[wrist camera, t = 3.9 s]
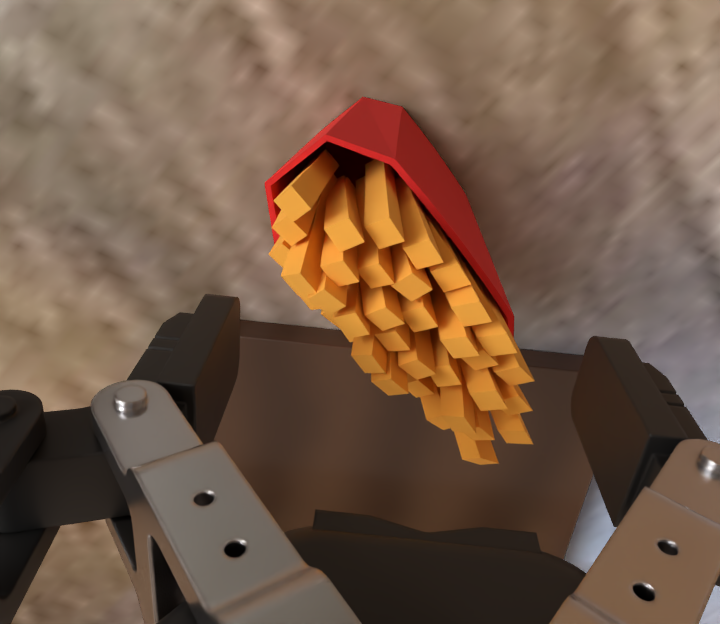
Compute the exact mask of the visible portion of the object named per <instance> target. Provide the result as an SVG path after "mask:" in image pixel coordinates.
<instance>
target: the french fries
mask: <svg viewBox="0 0 720 624" xmlns="http://www.w3.org/2000/svg"><path fill="white" fill-rule="evenodd" d="M265 189H266V195H267V201H268V207H269V213H270V220H271V226H272V232H273V238H274V244H275V245H274V246H273V248H272V250H271V251H270V253H269V255H270V256H271V257H272V258H273V259H274V260H275V261H276V262H277V263H278V264H279V265H281V266H282V267H283V271H282V274H281V277H282V278H283V279H284V280H285V281H286V283H287V284H288V285H289V286H290V287H291V288H292V289H293V290H294V292H295V293H296V294H297V295H299V296H300V297H301V298H302V300H303V301H304V302H305V303H306V304H307V306H308V307H309V308H310V309H311V310H314V309H321V315H323V316H324V317H325V318H327V319H328V320H329V321H330V322H332V323H333V324H334V325H336V326H337V327H338V328H340V329H341V331H342V332H343V333H344V335H345V336H346V338H347V339H348V340H349V342H353V345H352V352H351V356H352V357H353V359H354V360H355V361H356V362H357V364H358V365H359V366H360V368H361V369H362V370H363V371H364V373H371V382H372V383H374V384H375V385H376V386H377V387H379V388H380V389H381V390H382V391H383V392H385V393H386V394H387V395H388V396H390V395H401V394H409V392H410V393H411V394H412V395H413V396H415V397H416V398H417V397H420V398H421V402H422V405H423V409H424V413H425V416H426V420H427V421H429V422H431V423H432V424H434V425H436V426H437V427H439V428H440V429H442V430H445V429H449V428H451V430H452V431H454V433H455V437H456V440H457V443H458V447H459V450H460V454H461V457H462V460H466V461H469V462H472V463H476V464H479V465H484V464H498V463H499V462H498V460H497V457H496V454H495V451H494V448H493V446H492V443H491V440H495V439H494V434H493V430H492V425H491V421H490V417H489V412H488V411H489V410H490V412H491V414H492V417H493V419H494V422H495V425H496V427H497V430H498V431H499V433H500V434H501V436H502V437H503V439H504V440H505V442H506V443H514V444H533V442H532V440H531V438H530V435H529V433H528V431H527V429H526V426H525V424H524V422H523V420H522V418H521V415H520V413H524V412H529V411H533V410H532V408H531V407H530V405H529V403H528V401H527V400H526V398H525V396H524V394H523V393H522V391H521V389H520V387H519V386H518V384H523V383H528V382H533V381H535V380H534V378H533V376H532V374H531V372H530V370H529V368H528V366H527V364H526V362H525V360H524V358H523V356H522V354H521V352H520V350H519V348H518V346H517V344H516V342H515V340H514V315H513V312H512V310H511V307H510V305H509V302H508V300H507V297H506V295H505V292H504V290H503V287H502V285H501V282H500V280H499V277H498V275H497V272H496V270H495V267H494V264H493V262H492V259H491V257H490V254H489V252H488V249H487V247H486V244H485V242H484V239H483V237H482V234H481V232H480V229H479V227H478V224H477V222H476V219H475V217H474V214H473V212H472V209H471V206H470V204H469V201H468V199H467V196H466V194H465V192H464V191H463V189H462V188H461V186H460V185H459V183H458V182H457V180H456V179H455V177H454V175H453V174H452V172H451V171H450V170H449V168H448V167H447V165H446V164H445V162H444V161H443V160H442V158H441V157H440V155H439V154H438V152H437V151H436V150H435V148H434V147H433V146H432V144H431V143H430V142H429V140H428V139H427V138H426V136H425V135H424V134H423V132H422V131H421V130H420V128H419V127H418V126H417V125H416V123H415V122H414V121H413V120H412V118H411V117H410V116H409V115H408V113H407V112H406V111H405V110H404V108H403V107H402V106H398V105H394V104H390V103H386V102H382V101H378V100H374V99H370V98H366V97H362V98H361V99H360V100H358V101H357V102H356V103H355V104H353V105H352V106H351V107H350V108H348V109H347V110H346V111H345V112H343V113H342V114H341V115H340V116H338V117H337V118H336V119H335V120H333V121H332V122H331V123H330V124H328V125H327V126H326V127H325V128H324V129H322V130H321V131H320V132H319V133H318V134H317V135H316V136H315V137H314V138H313V139H311V140H310V141H309V142H308V143H307V144H306V145H305V146H304V147H303V148H302V149H301V150H300V151H299V152H297V153H296V154H295V155H294V156H293V157H292V158H291V159H290V160H289V161H288V162H287V163H286V164H285V165H283V166H282V167H281V168H280V169H279V170H278V171H277V172H276V173H275V174H274V175H273V176H272V177H271V178H269V179H268V180H267V181H266V182H265ZM408 391H409V392H408Z"/></svg>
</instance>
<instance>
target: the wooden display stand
mask: <svg viewBox="0 0 720 624" xmlns="http://www.w3.org/2000/svg"><path fill="white" fill-rule="evenodd" d="M352 345H353V342H349V340H348V339H347V338H346V336H345V335H344V333H343V332H342V331H341V330H332V329H322V328H312V327H303V326H293V325H284V324H274V323H264V322H255V321H245V320H240V359H239V369H238V375H237V379H236V382H235V385H234V388H233V391H232V393H231V396H230V398H229V401H228V404H227V406H226V409H225V412H224V414H223V417H222V419H221V422H220V425H219V427H218V430H217V433H216V435H215V438H214V440H216V441H218V442H219V443H220V444H221V445H222V446H223V447H224V449H225V450H226V452H227V453H228V454H229V456H230V457H231V459H232V460H233V462H234V463H235V464H236V466H237V467H238V469H239V470H240V471H241V473H242V474H243V476H244V477H245V479H246V480H247V481H248V483H249V484H250V486H251V487H252V488H253V490H254V491H255V493H256V494H257V495H258V497H259V498H260V500H261V501H262V503H263V504H264V505H265V507H266V508H267V510H268V511H269V512H270V514H271V515H272V517H273V518H274V519H275V521H276V522H277V524H278V525H279V527H280V528H281V529H282V531H283V532H286V531H289V530H293V529H298V528H302V527H310V526H313V522H314V515H315V509H317V510H327V511H336V512H346V513H355V514H365V515H371V516H374V517H378V518H381V519H384V520H387V521H390V522H394V523H397V524H400V525H403V526H407V527H410V528H413V529H416V530H419V531H423V532H438V531H448V530H457V529H467V528H476V527H488V528H497V529H507V530H516V531H526V532H535V533H537V537H538V541H539V545H540V549H541V551H543V552H546V553H549V554H552V555H554V556H556V557H559V558H561V559H564V556H565V553H566V551H567V548H568V545H569V542H570V539H571V536H572V534H573V531H574V528H575V525H576V522H577V519H578V516H579V514H580V511H581V508H582V505H583V502H584V499H585V497H586V494H587V491H588V488H589V485H590V482H591V480H592V477H593V472H592V469H591V466H590V464H589V461H588V459H587V456H586V454H585V451H584V448H583V446H582V443H581V441H580V438H579V435H578V433H577V430H576V428H575V425H574V423H573V420H572V416H571V397H572V392H573V389H574V385H575V382H576V379H577V376H578V372H579V369H580V366H581V363H582V359H583V356H581V355H572V354H562V353H553V352H543V351H533V350H524V349H519V350H520V352H521V354H522V356H523V358H524V360H525V362H526V364H527V366H528V368H529V370H530V372H531V374H532V376H533V378H534V380H535V381H533V382H528V383H523V384H518V386H519V387H520V389H521V391H522V393H523V394H524V396H525V398H526V400H527V401H528V403H529V405H530V407H531V408H532V410H533V411H529V412H524V413H520V415H521V418H522V420H523V422H524V424H525V426H526V429H527V431H528V433H529V435H530V438H531V440H532V442H533V444H514V443H506V442H505V440H504V439H503V437H502V436H501V434H500V433H499V431H498V430H497V427H496V425H495V422H494V419H493V417H492V414H491V412H490V410H489V411H488V412H489V417H490V421H491V425H492V430H493V434H494V439H495V440H491V443H492V446H493V448H494V451H495V454H496V457H497V460H498V462H499V463H498V464H484V465H479V464H476V463H472V462H469V461H466V460H462V457H461V454H460V450H459V447H458V443H457V440H456V437H455V433H454V431H452V430H451V428H449V429H445V430H442V429H440V428H439V427H437V426H436V425H434V424H432V423H431V422H429V421H427V420H426V416H425V413H424V409H423V405H422V402H421V398H420V397H417V398H416V397H415V396H413V395H412V394H411V393H410V392H409V391H408V392H409V394H401V395H390V396H388V395H387V394H386V393H385V392H383V391H382V390H381V389H380V388H379V387H377V386H376V385H375V384H374V383H372V382H371V373H364V371H363V370H362V369H361V368H360V366H359V365H358V364H357V362H356V361H355V360H354V359H353V357H352V356H351V352H352Z"/></svg>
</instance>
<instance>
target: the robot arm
mask: <svg viewBox="0 0 720 624" xmlns="http://www.w3.org/2000/svg"><path fill="white" fill-rule="evenodd" d="M239 359H240V301H239V298H238V297H230V296H221V295H211V294H205V295H204V297H203V299H202V300H201V302H200V304H199V306H198V307H197V309H196V311H195V313H194V314H189V313H178V314H177V315H175V316H174V317H172V318H170V319H169V320H167V321H166V322H164V323H163V324H162V326H161V328H160V329H159V331H158V332H157V334H156V335H155V338H153V340H152V342H151V343H150V345H149V347H148V349H146V351H145V352H144V354H143V356H142V357H141V359H140V360H139V362H138V363H137V365H136V366H135V368H134V370H133V371H132V373H131V374H130V376H129V377H128V379H127V380H126V381H122V382H118V383H114V384H112V385H109V386H107V387H105V388H104V389H102V390H101V391H99V392H98V393H97V394H96V395H95V396H94V398H93V399H92V402H91V406H89V407H85V408H79V409H71V410H61V411H51V412H44V411H43V405H42V402H41V400H40V399H39V398H38V397H37V396H36V395H34V394H32V393H30V392H26V391H21V390H2V391H0V624H11V622H12V620H13V618H14V616H15V614H16V612H17V610H18V608H19V606H20V604H21V602H22V600H23V598H24V596H25V594H26V592H27V591H28V589H29V587H30V585H31V583H32V581H33V579H34V577H35V575H36V573H37V571H38V569H39V567H40V565H41V563H42V561H43V559H44V557H45V555H46V553H47V551H48V549H49V547H50V545H51V543H52V542H53V540H54V538H55V536H56V534H57V532H58V530H59V528H60V526H61V525H68V524H74V523H81V522H88V521H94V520H101V519H105V520H106V523H107V526H108V528H109V530H110V532H111V535H112V537H113V539H114V542H115V544H116V546H117V549H118V551H119V553H120V556H121V558H122V560H123V562H124V565H125V567H126V569H127V572H128V574H129V576H130V579H131V581H132V583H133V586H134V588H135V591H136V594H137V597H138V600H139V604H140V608H141V613H142V616H143V620H144V624H699V621H700V619H701V617H702V614H703V612H704V609H705V607H706V605H707V602H708V600H709V598H710V595H711V593H712V590H713V588H714V586H715V585H717V586H720V444H718V443H715V442H712V441H708V440H707V438H706V437H705V435H704V434H703V432H702V431H701V429H700V428H699V426H698V425H697V423H696V421H695V420H694V418H693V417H692V415H691V414H690V412H689V411H688V409H687V408H686V407H684V403H683V402H682V400H681V398H680V397H679V395H676V391H675V389H674V388H673V386H672V385H671V383H670V382H669V380H668V379H667V377H666V376H664V375H663V374H662V373H661V372H659V371H658V370H657V369H656V368H654V367H653V366H652V365H651V364H649V363H642V361H641V360H640V358H639V357H638V355H637V353H636V352H635V350H634V348H633V347H632V345H631V344H630V342H629V341H628V340H626V339H617V338H608V337H599V336H593V337H591V338H590V340H589V342H588V344H587V347H586V350H585V353H584V356H583V359H582V363H581V366H580V369H579V372H578V376H577V379H576V382H575V385H574V389H573V392H572V397H571V416H572V420H573V423H574V425H575V428H576V430H577V433H578V435H579V438H580V441H581V443H582V446H583V448H584V451H585V454H586V456H587V459H588V461H589V464H590V466H591V469H592V472H593V474H594V477H595V479H596V482H597V485H598V487H599V490H600V492H601V495H602V497H603V500H604V503H605V505H606V508H607V510H608V513H609V516H610V518H611V521H612V523H613V526H614V527H617V528H616V530H615V531H614V533H613V534H612V536H611V537H610V539H609V540H608V542H607V544H606V545H605V547H604V548H603V550H602V551H601V553H600V554H599V556H598V557H597V559H596V560H595V562H594V563H593V565H592V566H591V568H590V569H589V571H588V572H587V574H586V573H585V572H584V571H582V570H580V569H579V568H577V567H576V566H574V565H572V564H571V563H569V562H567V561H565V560H563V559H561V558H559V557H556V556H554V555H552V554H549V553H546V552H543V551H541V549H540V545H539V541H538V537H537V533H535V532H526V531H516V530H507V529H497V528H488V527H476V528H467V529H457V530H448V531H438V532H423V531H419V530H416V529H413V528H410V527H407V526H403V525H400V524H397V523H394V522H390V521H387V520H384V519H381V518H378V517H374V516H371V515H365V514H355V513H346V512H336V511H327V510H317V509H315V515H314V522H313V526H310V527H302V528H298V529H293V530H289V531H286V532H283V531H282V529H281V528H280V527H279V525H278V524H277V522H276V521H275V519H274V518H273V517H272V515H271V514H270V512H269V511H268V510H267V508H266V507H265V505H264V504H263V503H262V501H261V500H260V498H259V497H258V495H257V494H256V493H255V491H254V490H253V488H252V487H251V486H250V484H249V483H248V481H247V480H246V479H245V477H244V476H243V474H242V473H241V471H240V470H239V469H238V467H237V466H236V464H235V463H234V462H233V460H232V459H231V457H230V456H229V454H228V453H227V452H226V450H225V449H224V447H223V446H222V445H221V444H220V443H219V442H218V441H216V440H214V438H215V435H216V433H217V430H218V427H219V425H220V422H221V419H222V417H223V414H224V412H225V409H226V406H227V404H228V401H229V398H230V396H231V393H232V391H233V388H234V385H235V382H236V379H237V375H238V369H239Z"/></svg>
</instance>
